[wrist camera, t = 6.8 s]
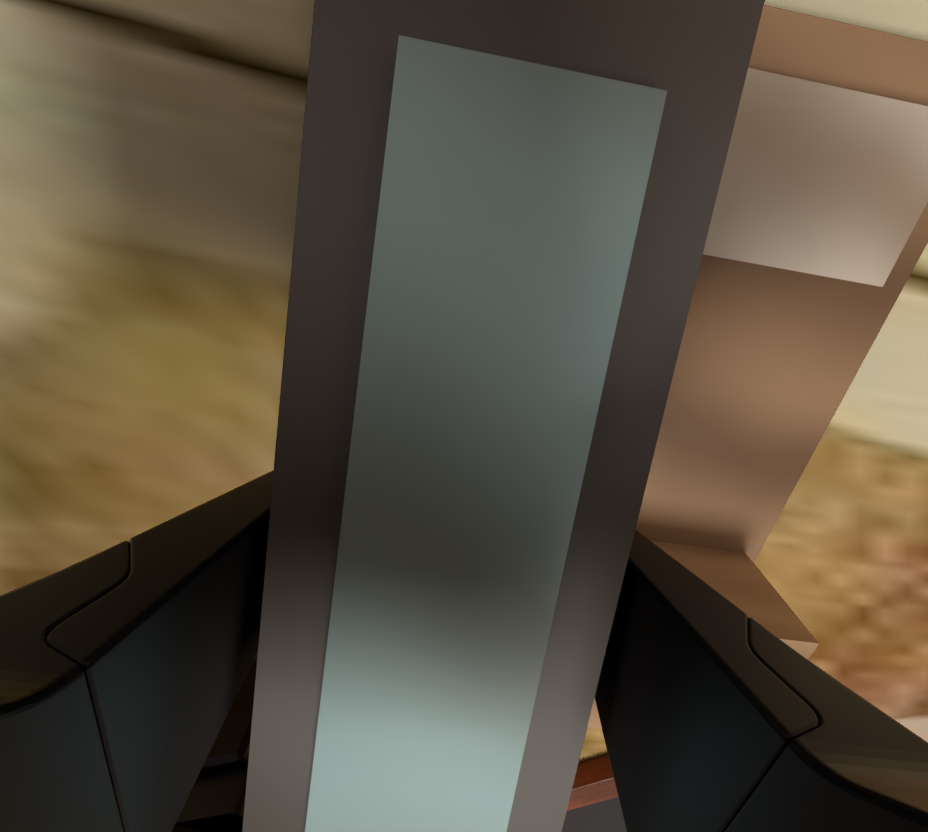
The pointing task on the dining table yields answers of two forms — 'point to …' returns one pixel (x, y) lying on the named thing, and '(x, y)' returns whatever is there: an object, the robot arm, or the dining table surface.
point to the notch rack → (788, 292)
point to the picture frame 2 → (594, 799)
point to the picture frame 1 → (474, 392)
